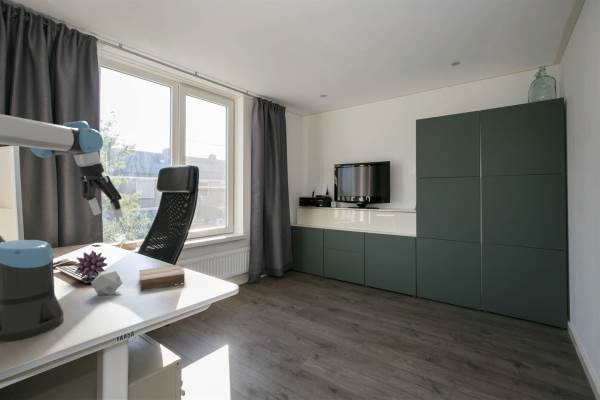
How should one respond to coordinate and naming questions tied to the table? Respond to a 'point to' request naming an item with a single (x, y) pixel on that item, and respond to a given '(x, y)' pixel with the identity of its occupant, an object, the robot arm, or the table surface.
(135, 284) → the table surface
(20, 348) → the table surface
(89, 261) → the purple spiky ball
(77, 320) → the table surface
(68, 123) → the robot arm
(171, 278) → the plinth
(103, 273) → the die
